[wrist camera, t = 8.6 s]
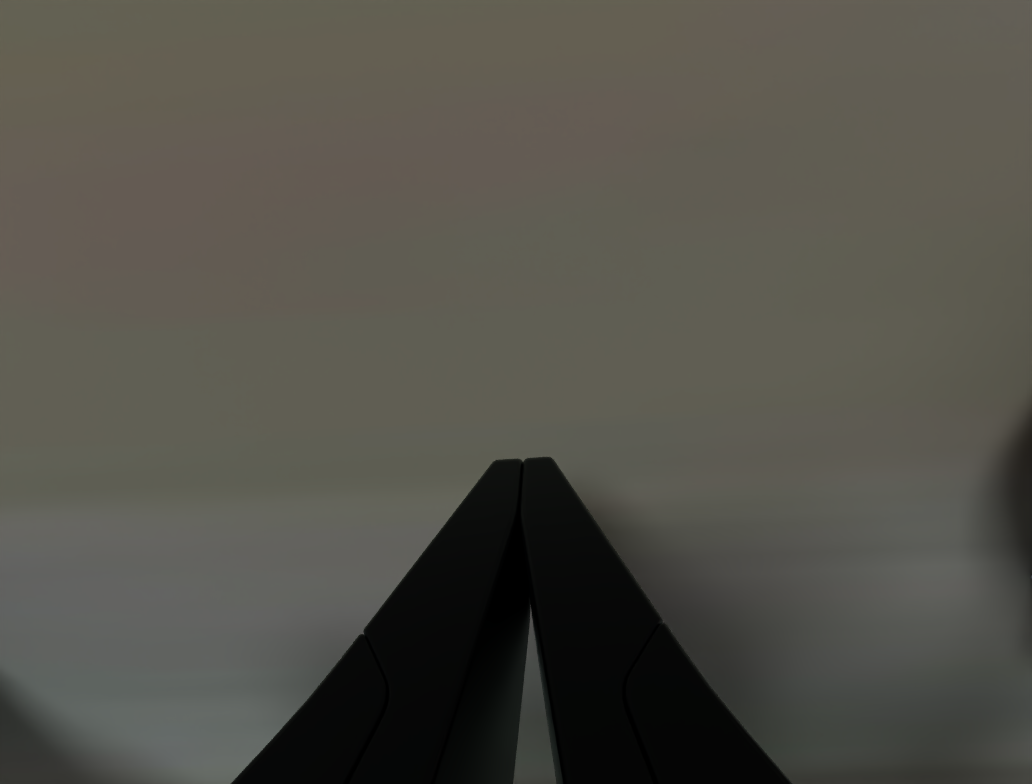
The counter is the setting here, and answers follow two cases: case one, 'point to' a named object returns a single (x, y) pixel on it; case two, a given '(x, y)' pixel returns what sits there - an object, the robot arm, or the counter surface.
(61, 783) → the counter surface
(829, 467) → the counter surface
